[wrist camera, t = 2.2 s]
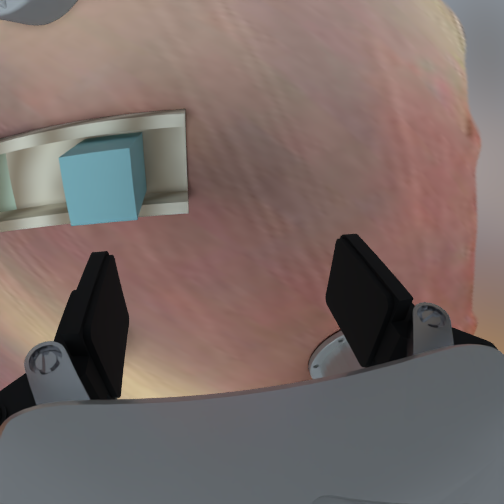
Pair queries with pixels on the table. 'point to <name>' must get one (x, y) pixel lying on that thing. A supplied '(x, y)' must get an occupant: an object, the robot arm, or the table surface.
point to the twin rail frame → (66, 137)
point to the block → (104, 179)
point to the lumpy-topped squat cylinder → (34, 10)
